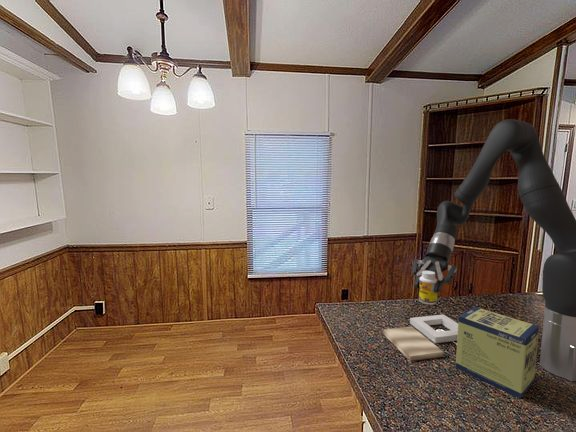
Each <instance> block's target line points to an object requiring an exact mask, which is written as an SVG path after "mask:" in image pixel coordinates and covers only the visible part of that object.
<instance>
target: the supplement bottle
mask: <svg viewBox="0 0 576 432" xmlns="http://www.w3.org/2000/svg"><path fill="white" fill-rule="evenodd" d="M437 280H438V277H436V274H435V272H432V271H422V276H421V277H420V278H419V289H418V300H419V302H420V303H422V304H423V305H424V304H425V305H435V304H437V302H438V294H437V293H435V291H434V289H435V286H436V283H437Z"/></svg>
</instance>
